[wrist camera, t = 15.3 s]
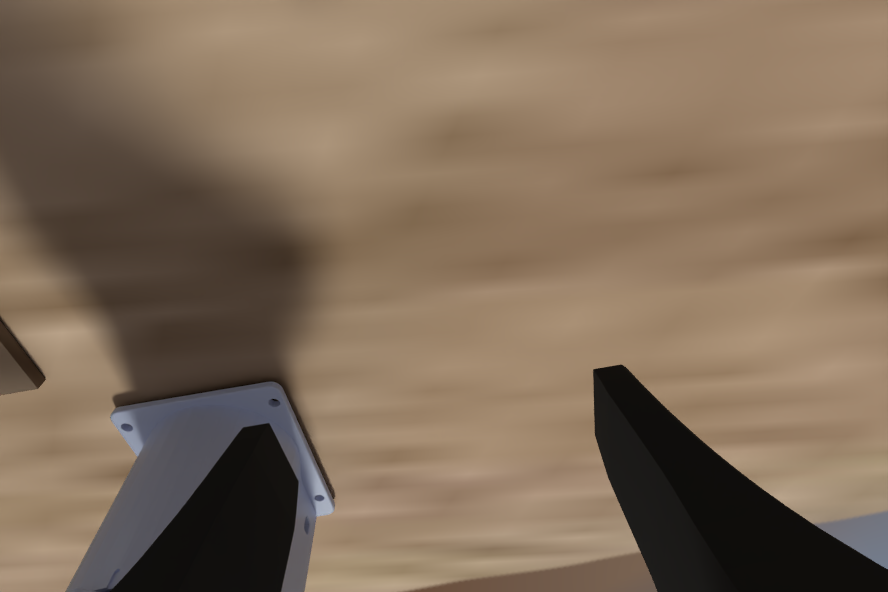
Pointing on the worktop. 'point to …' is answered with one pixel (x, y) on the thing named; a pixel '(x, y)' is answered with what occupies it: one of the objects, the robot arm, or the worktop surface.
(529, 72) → the worktop surface
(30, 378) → the clipboard
